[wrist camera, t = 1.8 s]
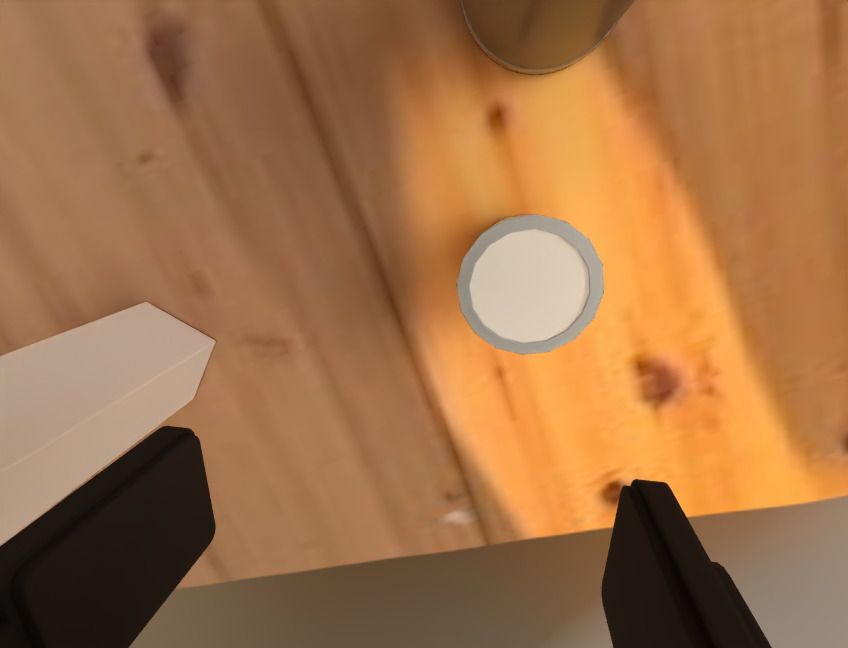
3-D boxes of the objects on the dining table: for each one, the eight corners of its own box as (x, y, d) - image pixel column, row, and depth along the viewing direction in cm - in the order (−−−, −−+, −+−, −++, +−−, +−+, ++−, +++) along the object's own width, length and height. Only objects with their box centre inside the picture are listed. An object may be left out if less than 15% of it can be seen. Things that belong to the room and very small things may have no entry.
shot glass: (467, 202, 26) (459, 212, 19) (584, 205, 25) (617, 217, 18) (462, 309, 28) (453, 350, 22) (569, 316, 27) (593, 360, 21)
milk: (147, 300, 32) (-491, 529, 11) (218, 340, 32) (-276, 638, 11) (128, 363, 34) (-436, 652, 13) (195, 400, 34) (-257, 741, 13)
